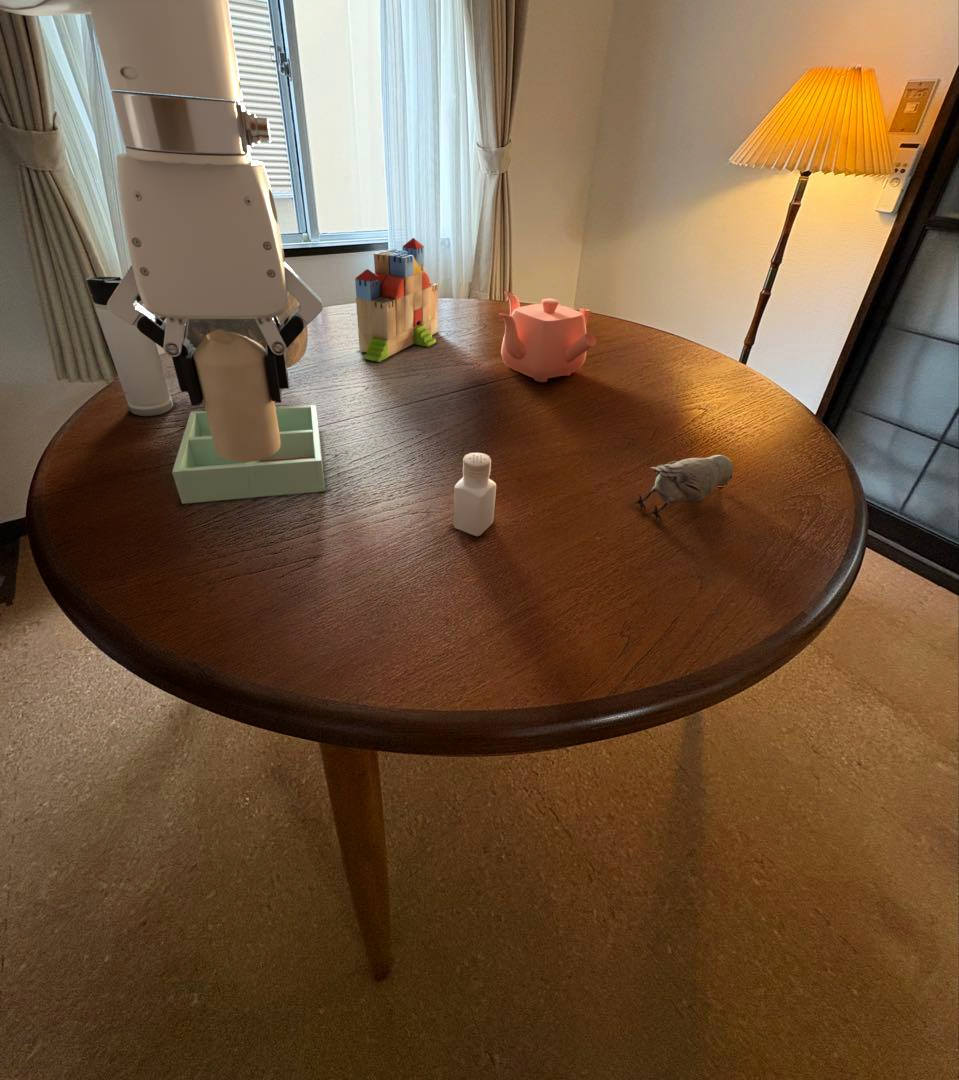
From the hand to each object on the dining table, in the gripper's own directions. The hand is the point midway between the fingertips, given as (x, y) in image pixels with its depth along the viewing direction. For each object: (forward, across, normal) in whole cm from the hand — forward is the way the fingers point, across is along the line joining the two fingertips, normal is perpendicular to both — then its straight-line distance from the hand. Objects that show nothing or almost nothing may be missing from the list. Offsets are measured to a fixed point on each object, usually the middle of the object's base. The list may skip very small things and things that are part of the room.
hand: (238, 395), depth 47 cm
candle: (+5, 0, 0) cm, 5 cm away
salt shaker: (+21, -23, -6) cm, 32 cm away
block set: (+21, -24, -77) cm, 84 cm away
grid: (+21, +3, -26) cm, 33 cm away
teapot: (+20, -50, -56) cm, 78 cm away
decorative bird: (+20, -53, -6) cm, 57 cm away
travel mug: (+21, +20, -47) cm, 55 cm away
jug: (+21, +5, -58) cm, 62 cm away
